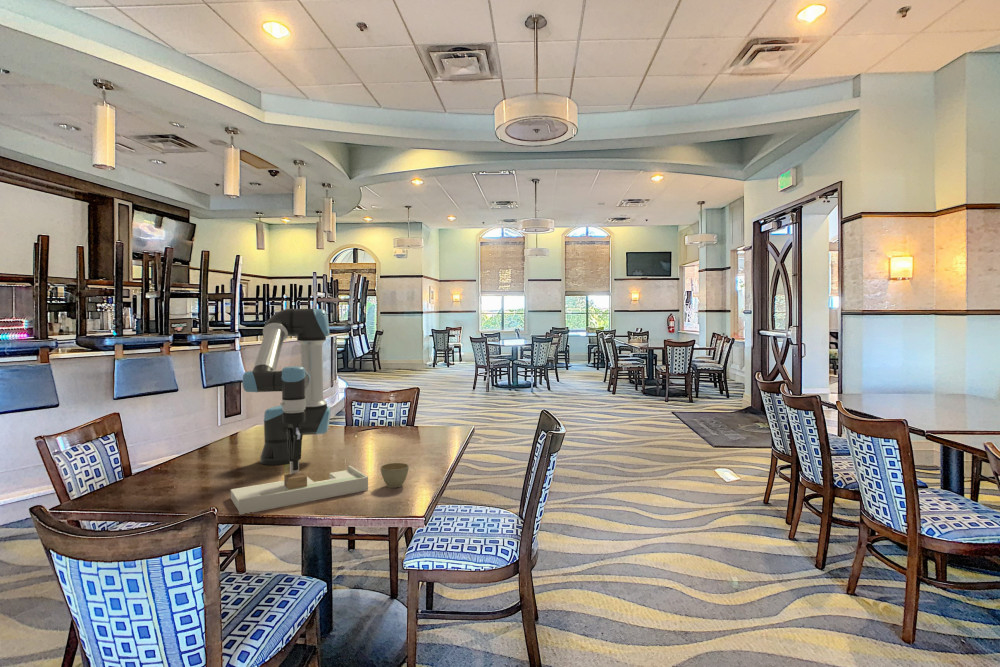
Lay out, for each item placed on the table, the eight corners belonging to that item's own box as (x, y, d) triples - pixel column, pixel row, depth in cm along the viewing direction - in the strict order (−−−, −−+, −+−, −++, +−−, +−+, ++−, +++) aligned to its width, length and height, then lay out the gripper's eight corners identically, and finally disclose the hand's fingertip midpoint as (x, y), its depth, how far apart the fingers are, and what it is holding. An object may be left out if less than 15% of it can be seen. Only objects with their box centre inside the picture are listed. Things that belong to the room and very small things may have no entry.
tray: (229, 498, 177) (229, 485, 177) (350, 477, 201) (350, 465, 201) (239, 514, 162) (239, 500, 162) (368, 489, 185) (368, 477, 185)
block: (284, 484, 182) (284, 474, 182) (302, 481, 185) (302, 471, 185) (288, 489, 177) (288, 478, 177) (307, 486, 180) (307, 475, 180)
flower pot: (413, 483, 193) (413, 463, 193) (400, 491, 183) (399, 471, 183) (389, 480, 196) (389, 461, 196) (375, 488, 187) (374, 468, 187)
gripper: (278, 409, 187) (278, 476, 188) (287, 414, 177) (288, 485, 177) (300, 407, 192) (300, 472, 192) (310, 412, 181) (311, 481, 181)
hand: (294, 478), depth 184 cm, fingers closed
